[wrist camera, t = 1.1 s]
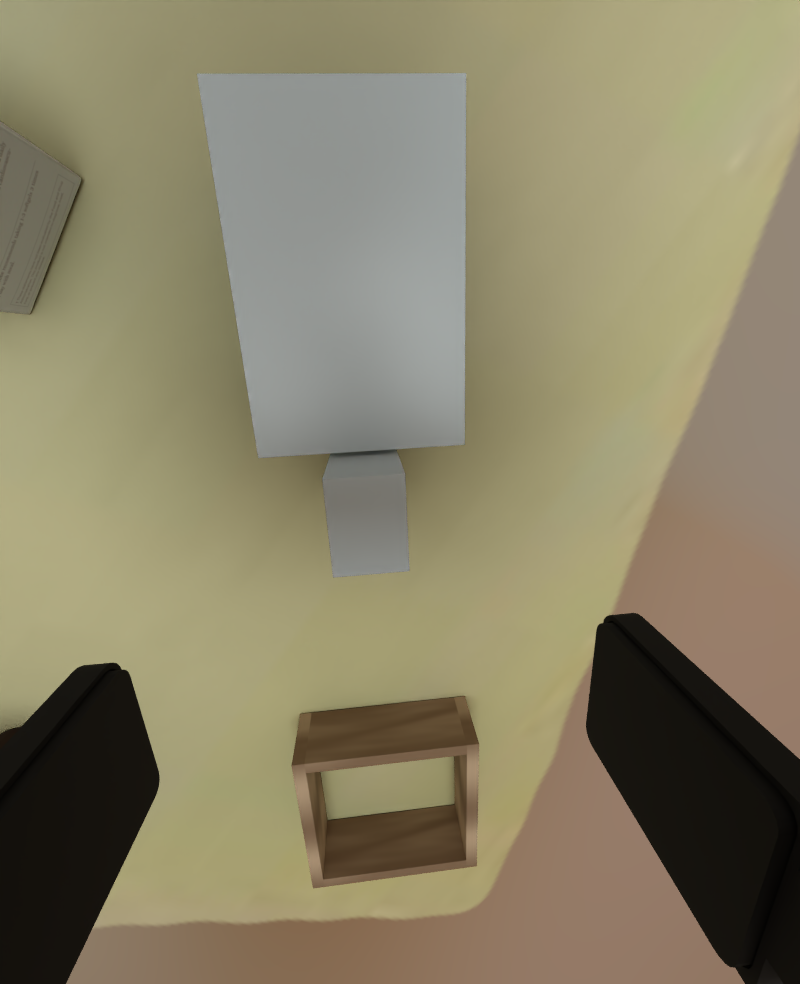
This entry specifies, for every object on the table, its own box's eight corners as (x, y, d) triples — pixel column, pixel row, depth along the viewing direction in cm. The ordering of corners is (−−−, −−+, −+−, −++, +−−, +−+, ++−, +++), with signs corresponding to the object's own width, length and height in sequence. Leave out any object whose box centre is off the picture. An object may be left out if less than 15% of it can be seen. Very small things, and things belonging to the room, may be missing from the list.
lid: (209, 95, 15) (147, -11, 10) (458, 93, 15) (495, -8, 11) (277, 536, 20) (254, 584, 16) (458, 521, 21) (483, 564, 17)
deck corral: (300, 713, 30) (291, 765, 26) (464, 696, 31) (479, 743, 27) (318, 828, 34) (313, 888, 30) (464, 810, 35) (476, 866, 31)
